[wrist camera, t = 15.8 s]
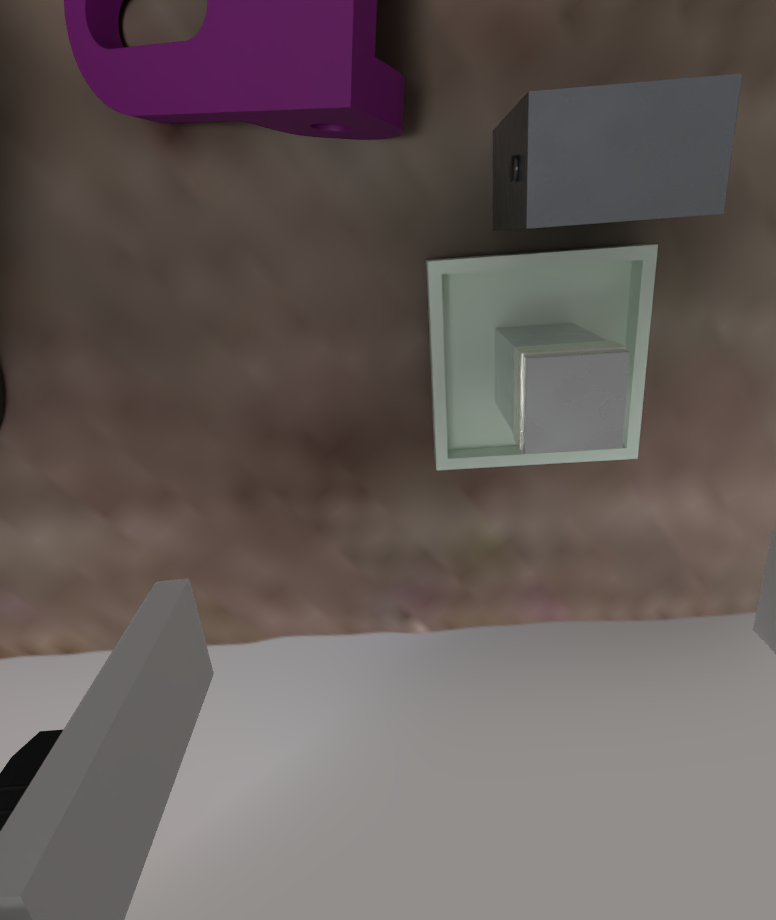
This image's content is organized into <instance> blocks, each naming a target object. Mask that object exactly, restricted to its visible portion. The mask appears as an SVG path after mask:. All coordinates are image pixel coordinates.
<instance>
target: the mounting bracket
mask: <svg viewBox="0 0 776 920" xmlns="http://www.w3.org/2000/svg"><path fill="white" fill-rule="evenodd" d="M122 2H123V0H64V8H65V18H66V25H67V31H68V36H69V40H70V44H71V47H72V51H73V54H74V57H75V59H76V62H77V64H78V67H79V69H80V71H81V73H82V75H83V77H84V78H85V80H86V82H87V84H88V85H89V86H90V88H91V89H92V91H93V92H94V93H95V94H96V95H97V97H98V98H99V99H100V100H101V101H102V102H104V103H105V104H106V105H107V106H109V107H110V108H112V109H113V110H115V111H117V112H120V113H122V114H126V115H130V116H134V117H138V118H142V119H146V120H150V121H155V122H159V123H183V122H214V121H242V122H249V123H253V124H256V125H260V126H263V127H266V128H270V129H273V130H277V131H281V132H286V133H291V134H297V135H304V136H312V137H324V138H341V139H357V140H370V139H385V138H392V137H396V136H399V135H401V134H402V132H403V115H404V98H405V81H406V80H405V77H404V75H403V74H401V73H400V72H399V71H397V70H395V69H394V68H392V67H391V66H389V65H387V64H386V63H384V62H382V61H381V60H379V59H378V58H376V57H375V42H376V17H377V0H207V12H206V17H205V20H204V23H203V25H202V27H201V29H200V31H199V32H198V33H197V34H196V35H195V36H194V37H193V38H192V39H190V40H187V41H180V42H171V43H162V44H152V45H143V46H134V47H125V48H124V46H123V44H122V42H121V39H120V35H119V28H118V17H119V11H120V7H121V4H122Z"/></svg>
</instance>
